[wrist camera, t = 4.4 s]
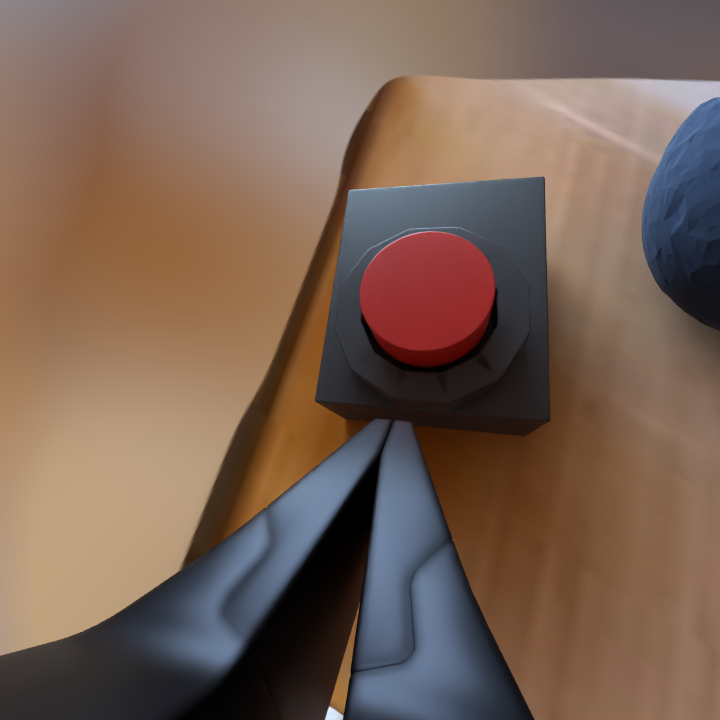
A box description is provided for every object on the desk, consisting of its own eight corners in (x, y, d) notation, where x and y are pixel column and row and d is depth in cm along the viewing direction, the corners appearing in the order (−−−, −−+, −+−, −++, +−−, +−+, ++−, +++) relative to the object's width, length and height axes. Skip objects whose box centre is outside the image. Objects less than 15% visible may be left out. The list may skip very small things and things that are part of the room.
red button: (488, 371, 14) (493, 354, 12) (363, 364, 15) (351, 348, 14) (491, 258, 16) (496, 228, 14) (376, 261, 17) (367, 233, 15)
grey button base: (525, 436, 19) (563, 413, 13) (344, 418, 22) (299, 392, 15) (524, 240, 23) (554, 144, 16) (368, 245, 25) (339, 164, 19)
